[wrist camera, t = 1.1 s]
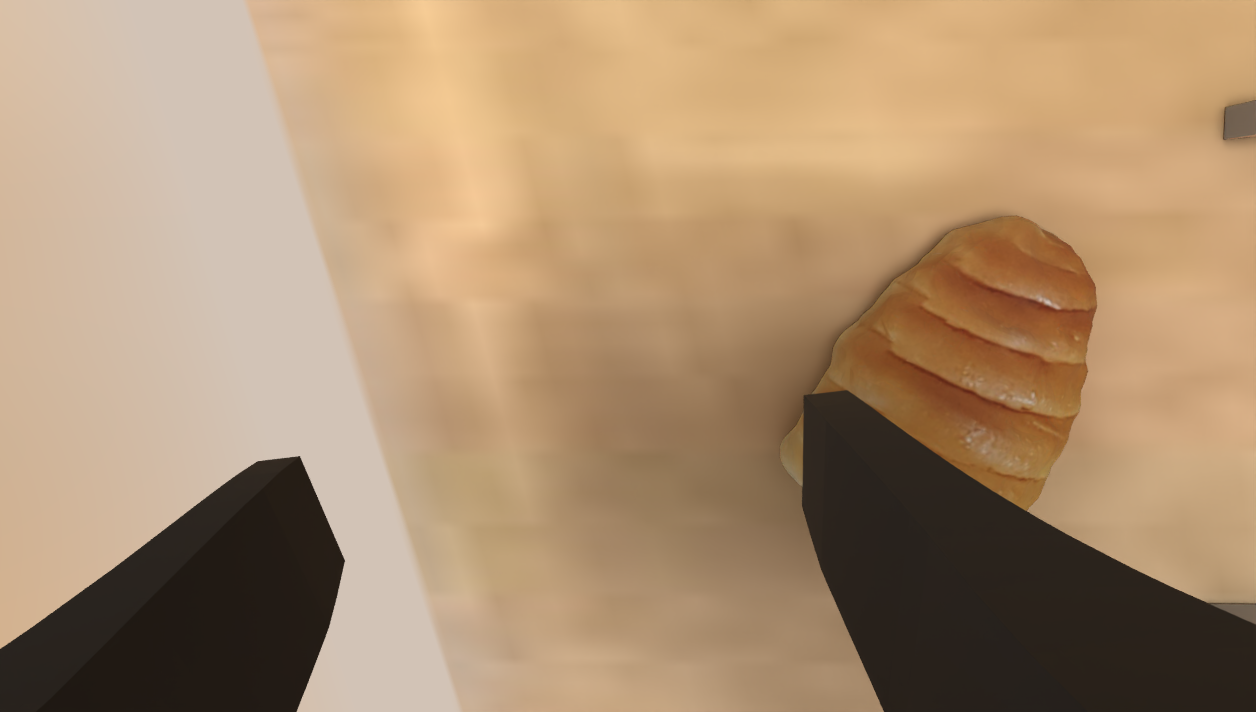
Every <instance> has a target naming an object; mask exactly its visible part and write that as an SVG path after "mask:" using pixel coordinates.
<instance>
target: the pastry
mask: <svg viewBox="0 0 1256 712" xmlns="http://www.w3.org/2000/svg"><path fill="white" fill-rule="evenodd" d="M1096 309H1097V300H1096V287H1095V284H1094V282H1093V280H1092V279H1091V277H1090V275H1089V274H1088V272H1087V270H1086V268H1085V266H1084V264H1083V262H1082V260H1081V258H1080V257H1079V256H1078V255H1077V254H1076V253H1075V252H1074V250H1073V249H1072V247H1071V246H1070V245H1068V244H1066V243H1065V242H1063V241H1062V240H1060V239H1059V238H1058V237H1056V236H1055V235H1054V234H1052V233H1050V232H1047V231H1045V230H1043V229H1041V228H1040V227H1039V226H1038V225H1037V224H1036V223H1034V222H1032V221H1030V220H1028V219H1025V218H1022V217H1019V216H1006V217H1000V218H996V219H992V220H989V221H985V222H982V223H979V224H975V225H971V226H966V227H962V228H959V229H955V230H952V231H951V232H949V233H948V234H947V235H945V236H944V238H943V239H942V240H941V241H940V242H939V243H938V244H937V245H936V246H935V247H934V248H933V249H932V250H931V251H930V252H929V253H928V254H926V255H925V256H924V257H923V258H922V259H921V261H920V262H919V264H917V265H916V266H914V267H913V268H911V269H910V270H908V271H907V272H905V273H904V274H902V275H900V276H899V277H897V278H896V279H894V280H893V281H892V282H891V284H890V285H889V287H888V288H887V289H886V290H885V291H884V292H883V293H882V294H881V296H880V297H879V298H878V299H877V301H876V302H875V304H874V305H873V306H872V307H871V308H870V309H869V310H868V311H867V312H865V313H864V314H863V315H862V316H861V317H860V319H859V320H858V321H857V322H855V323H854V324H853V325H852V326H850V327H849V328H847V329H846V330H845V331H844V332H843V333H842V334H841V335H840V337H839V338H838V340H837V341H836V343H835V345H834V347H833V352H832V361H831V365H830V367H829V368H828V370H827V371H826V373H825V374H824V376H823V377H822V379H821V380H820V382H819V384H818V386H817V388H816V389H815V390H814V391H813V393H812V394H818V393H826V392H835V391H843V390H848V391H849V392H851V393H852V394H854V395H855V396H857V397H858V398H859V399H861V400H862V401H864V402H865V403H866V404H868V405H869V406H871V407H872V408H873V409H875V410H876V411H877V412H879V413H880V414H882V415H883V416H884V417H886V418H887V419H888V420H890V421H891V422H893V423H894V424H895V425H897V426H898V427H899V428H901V429H902V430H904V431H905V432H906V433H908V434H909V435H911V436H912V437H913V438H915V439H916V440H918V441H919V442H920V443H922V444H923V445H925V446H926V447H927V448H929V449H930V450H932V451H933V452H935V453H936V454H938V455H939V456H941V457H942V458H943V459H945V460H946V461H948V462H949V463H951V464H952V465H954V466H955V467H957V468H958V469H960V470H961V471H963V472H964V473H966V474H967V475H969V476H970V477H972V478H973V479H975V480H977V481H978V482H980V483H981V484H983V485H984V486H986V487H987V488H989V489H991V490H992V491H994V492H996V493H997V494H999V495H1000V496H1002V497H1004V498H1005V499H1007V500H1009V501H1010V502H1012V503H1014V504H1015V505H1017V506H1019V507H1020V508H1022V509H1024V510H1025V511H1027V510H1028V508H1029V507H1030V506H1031V505H1032V504H1033V503H1034V502H1035V501H1036V500H1037V499H1038V497H1039V495H1040V493H1041V491H1042V488H1043V486H1044V483H1045V481H1046V479H1047V477H1048V475H1049V472H1050V469H1051V466H1052V465H1053V463H1054V462H1055V461H1056V460H1057V458H1058V457H1059V456H1060V454H1061V452H1062V450H1063V448H1064V446H1065V445H1066V443H1067V440H1068V438H1069V432H1070V429H1071V426H1072V423H1073V421H1074V419H1075V417H1076V416H1077V414H1078V413H1079V410H1080V406H1081V389H1082V387H1083V385H1084V382H1085V379H1086V376H1087V373H1088V369H1087V365H1086V361H1085V357H1086V353H1087V343H1088V340H1089V336H1090V333H1091V329H1092V321H1093V317H1094V314H1095V312H1096ZM803 416H804V410H803V413H802V415H801V417H800V419H799V421H798V423H797V425H796V426H795V427H794V428H793V429H792V430H791V431H790V432H789V433H788V435H787V436H786V437H785V438H784V439H783V441H782V443H781V445H780V459H781V461H782V464H783V467H784V468H785V469H786V471H787V472H788V473H789V474H790V475H791V476H792V477H793V479H794V480H795V481H796V482H797V483H798V484H799V485H801V487H802V486H803Z"/></svg>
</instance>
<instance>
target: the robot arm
mask: <svg viewBox="0 0 1256 712" xmlns="http://www.w3.org/2000/svg"><path fill="white" fill-rule="evenodd" d="M802 507H803V511H804V514H805V517H806V521H807V524H808V528H809V531H810V535H811V538H812V541H813V545H814V548H815V551H816V554H817V557H818V561H819V564H820V567H821V570H822V572H823V575H824V577H825V579H826V582H827V584H828V586H829V588H830V591H831V593H832V595H833V598H834V600H835V602H836V604H837V607H838V609H839V611H840V614H841V616H842V618H843V620H844V623H845V625H846V627H847V629H848V632H849V634H850V636H851V638H852V641H853V643H854V645H855V647H856V650H857V652H858V654H859V656H860V659H861V661H862V663H863V665H864V668H865V670H866V672H867V674H868V677H869V679H870V681H871V683H872V686H873V688H874V690H875V692H876V695H877V697H878V699H879V701H880V704H881V706H882V708H883V710H884V712H1256V624H1254V623H1252V622H1249V621H1247V620H1245V619H1242V618H1240V617H1238V616H1236V615H1233V614H1231V613H1229V612H1227V611H1224V610H1222V609H1220V608H1218V607H1215V606H1213V605H1211V604H1209V603H1206V602H1204V601H1202V600H1200V599H1197V598H1195V597H1193V596H1191V595H1188V594H1186V593H1184V592H1182V591H1179V590H1177V589H1175V588H1173V587H1170V586H1168V585H1166V584H1164V583H1162V582H1160V581H1158V580H1156V579H1154V578H1151V577H1149V576H1147V575H1145V574H1143V573H1141V572H1139V571H1137V570H1135V569H1133V568H1131V567H1129V566H1127V565H1125V564H1123V563H1121V562H1119V561H1117V560H1115V559H1113V558H1111V557H1109V556H1107V555H1106V554H1104V553H1102V552H1100V551H1098V550H1096V549H1094V548H1092V547H1090V546H1088V545H1086V544H1084V543H1082V542H1080V541H1079V540H1077V539H1075V538H1073V537H1071V536H1069V535H1067V534H1065V533H1064V532H1062V531H1060V530H1058V529H1056V528H1055V527H1053V526H1051V525H1049V524H1047V523H1046V522H1044V521H1042V520H1040V519H1039V518H1037V517H1035V516H1034V515H1032V514H1030V513H1029V512H1027V511H1025V510H1024V509H1022V508H1020V507H1019V506H1017V505H1015V504H1014V503H1012V502H1010V501H1009V500H1007V499H1005V498H1004V497H1002V496H1000V495H999V494H997V493H996V492H994V491H992V490H991V489H989V488H987V487H986V486H984V485H983V484H981V483H980V482H978V481H977V480H975V479H973V478H972V477H970V476H969V475H967V474H966V473H964V472H963V471H961V470H960V469H958V468H957V467H955V466H954V465H952V464H951V463H949V462H948V461H946V460H945V459H943V458H942V457H941V456H939V455H938V454H936V453H935V452H933V451H932V450H930V449H929V448H927V447H926V446H925V445H923V444H922V443H920V442H919V441H918V440H916V439H915V438H913V437H912V436H911V435H909V434H908V433H906V432H905V431H904V430H902V429H901V428H899V427H898V426H897V425H895V424H894V423H893V422H891V421H890V420H888V419H887V418H886V417H884V416H883V415H882V414H880V413H879V412H877V411H876V410H875V409H873V408H872V407H871V406H869V405H868V404H866V403H865V402H864V401H862V400H861V399H859V398H858V397H857V396H855V395H854V394H852V393H851V392H849V391H848V390H843V391H835V392H826V393H818V394H810V395H804V416H803V486H802ZM344 562H345V560H344V558H343V555H342V553H341V551H340V548H339V546H338V544H337V541H336V539H335V537H334V534H333V532H332V530H331V528H330V525H329V523H328V521H327V518H326V516H325V514H324V511H323V509H322V507H321V505H320V502H319V500H318V497H317V495H316V493H315V491H314V488H313V486H312V483H311V481H310V479H309V477H308V474H307V472H306V470H305V467H304V465H303V463H302V460H301V458H300V456H298V457H290V458H282V459H273V460H265V461H258V462H256V463H254V464H253V465H251V466H250V467H248V468H247V469H245V470H244V471H242V472H241V473H239V474H238V475H236V476H235V477H233V478H232V479H231V480H229V481H228V482H226V483H225V484H224V485H222V486H221V487H220V488H218V489H217V490H216V491H214V492H213V493H212V494H210V495H209V496H208V497H206V498H205V499H204V500H202V501H201V502H200V503H198V504H197V505H196V506H194V507H193V508H192V509H191V510H189V511H188V512H187V513H185V514H184V515H183V516H182V517H180V518H179V519H178V520H176V521H175V522H174V523H172V524H171V525H170V526H168V527H167V528H166V529H165V530H163V531H162V532H161V533H159V534H158V535H157V536H155V537H154V538H153V539H151V540H150V541H149V542H148V543H146V544H145V545H144V546H142V547H141V548H140V549H138V550H137V551H136V552H134V553H133V554H132V555H131V556H129V557H128V558H127V559H125V560H124V561H123V562H121V563H120V564H119V565H117V566H116V567H115V568H114V569H112V570H111V571H109V572H108V573H107V574H105V575H104V576H102V577H101V578H100V579H98V580H97V581H96V582H94V583H93V584H92V585H90V586H89V587H87V588H86V589H84V590H83V591H82V592H80V593H79V594H78V595H76V596H75V597H73V598H72V599H71V600H69V601H68V602H66V603H65V604H64V605H62V606H61V607H60V608H58V609H57V610H55V611H54V612H53V613H51V614H50V615H48V616H47V617H46V618H45V619H43V620H41V621H40V622H39V623H37V624H36V625H35V626H33V627H32V628H30V629H29V630H27V631H26V632H25V633H23V634H22V635H20V636H19V637H17V638H16V639H14V640H13V641H11V642H10V643H8V644H7V645H6V646H4V647H2V648H1V649H0V712H297V709H298V706H299V704H300V701H301V699H302V696H303V694H304V691H305V689H306V686H307V684H308V681H309V678H310V676H311V673H312V671H313V668H314V665H315V663H316V660H317V658H318V655H319V652H320V650H321V647H322V644H323V642H324V639H325V637H326V634H327V631H328V628H329V625H330V621H331V617H332V613H333V610H334V606H335V602H336V598H337V594H338V589H339V585H340V580H341V575H342V571H343V566H344Z"/></svg>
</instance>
